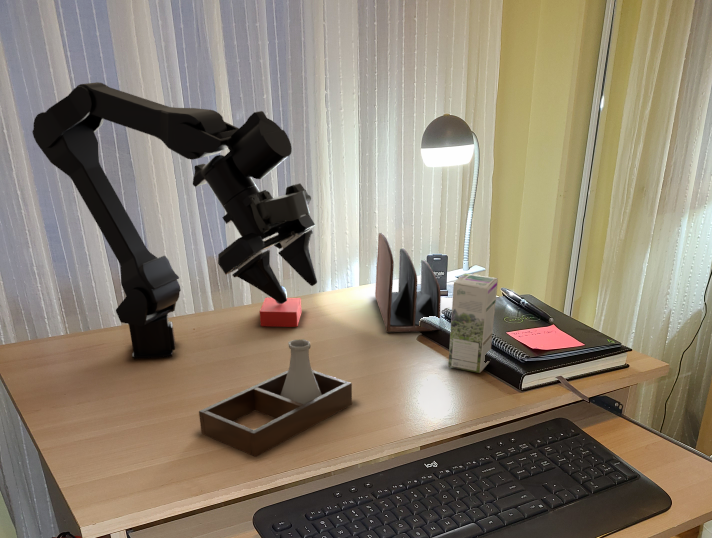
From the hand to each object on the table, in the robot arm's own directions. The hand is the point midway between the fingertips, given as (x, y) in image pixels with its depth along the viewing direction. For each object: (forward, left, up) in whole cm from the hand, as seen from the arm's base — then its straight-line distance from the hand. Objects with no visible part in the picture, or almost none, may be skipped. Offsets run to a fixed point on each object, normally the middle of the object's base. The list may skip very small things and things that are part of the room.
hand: (300, 293), depth 114 cm
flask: (-1, -9, -15) cm, 17 cm away
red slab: (-1, +30, -15) cm, 33 cm away
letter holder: (+23, +29, -15) cm, 40 cm away
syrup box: (+28, +3, -15) cm, 32 cm away
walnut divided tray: (-5, -12, -14) cm, 19 cm away
